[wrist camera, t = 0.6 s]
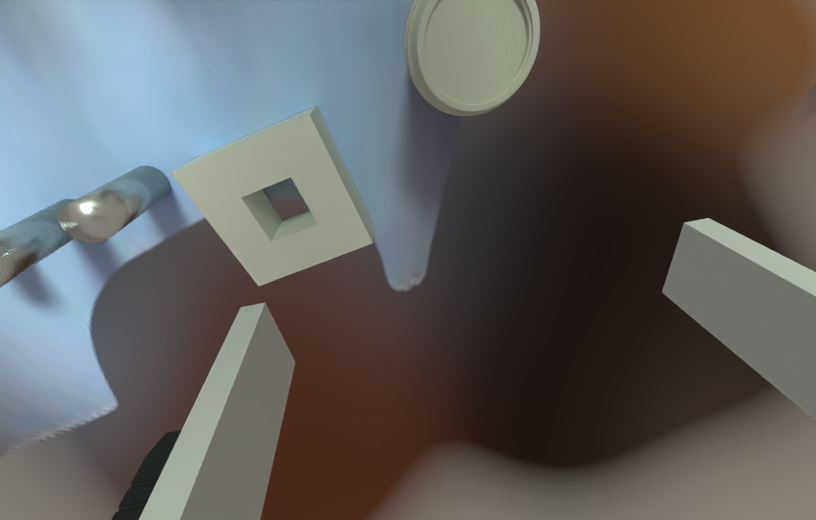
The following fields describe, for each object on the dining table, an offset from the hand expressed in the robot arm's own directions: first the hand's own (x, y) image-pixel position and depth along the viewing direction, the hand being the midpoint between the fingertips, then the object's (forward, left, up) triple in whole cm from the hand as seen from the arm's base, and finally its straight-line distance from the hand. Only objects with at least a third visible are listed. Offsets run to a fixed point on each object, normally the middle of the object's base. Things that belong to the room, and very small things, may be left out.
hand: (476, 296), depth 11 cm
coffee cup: (-5, +6, -27) cm, 28 cm away
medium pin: (-4, -25, -27) cm, 37 cm away
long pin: (-4, -34, -27) cm, 44 cm away
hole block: (+2, -13, -27) cm, 30 cm away
